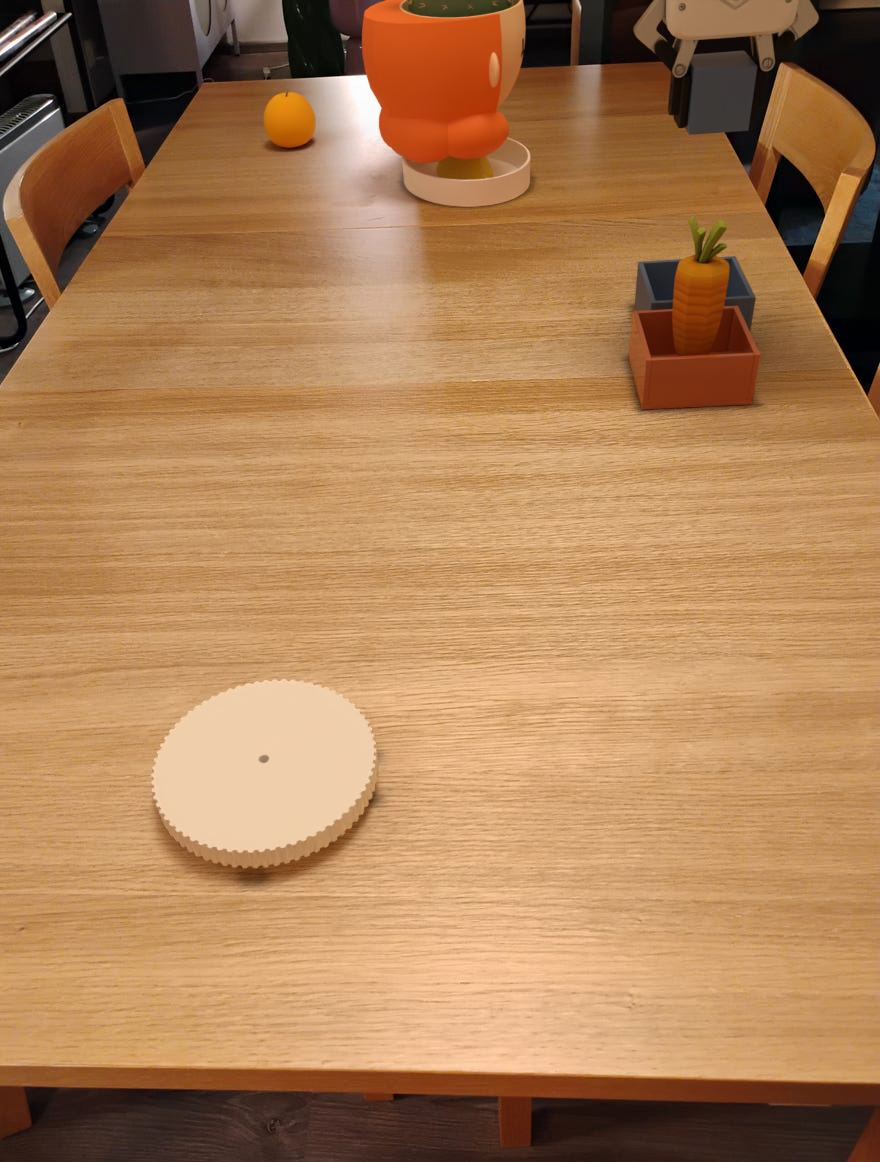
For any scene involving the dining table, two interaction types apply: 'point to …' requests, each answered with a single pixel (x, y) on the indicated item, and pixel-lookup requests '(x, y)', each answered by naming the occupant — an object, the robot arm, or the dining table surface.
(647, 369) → the terracotta bin
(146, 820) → the dining table surface
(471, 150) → the potted cactus
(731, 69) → the block
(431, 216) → the dining table surface
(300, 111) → the orange
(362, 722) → the beige gear wheel
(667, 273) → the blue bin
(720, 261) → the carrot
